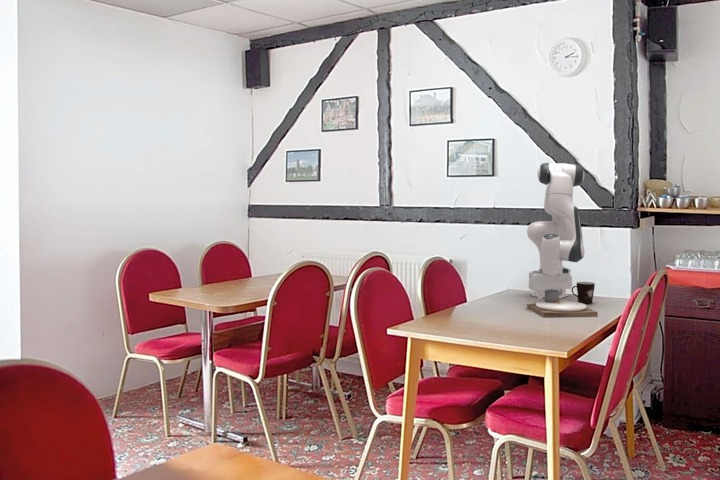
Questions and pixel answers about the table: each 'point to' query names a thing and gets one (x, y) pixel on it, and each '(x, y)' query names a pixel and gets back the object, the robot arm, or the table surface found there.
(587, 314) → the base
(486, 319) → the table surface
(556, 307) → the dial
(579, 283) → the coffee mug
